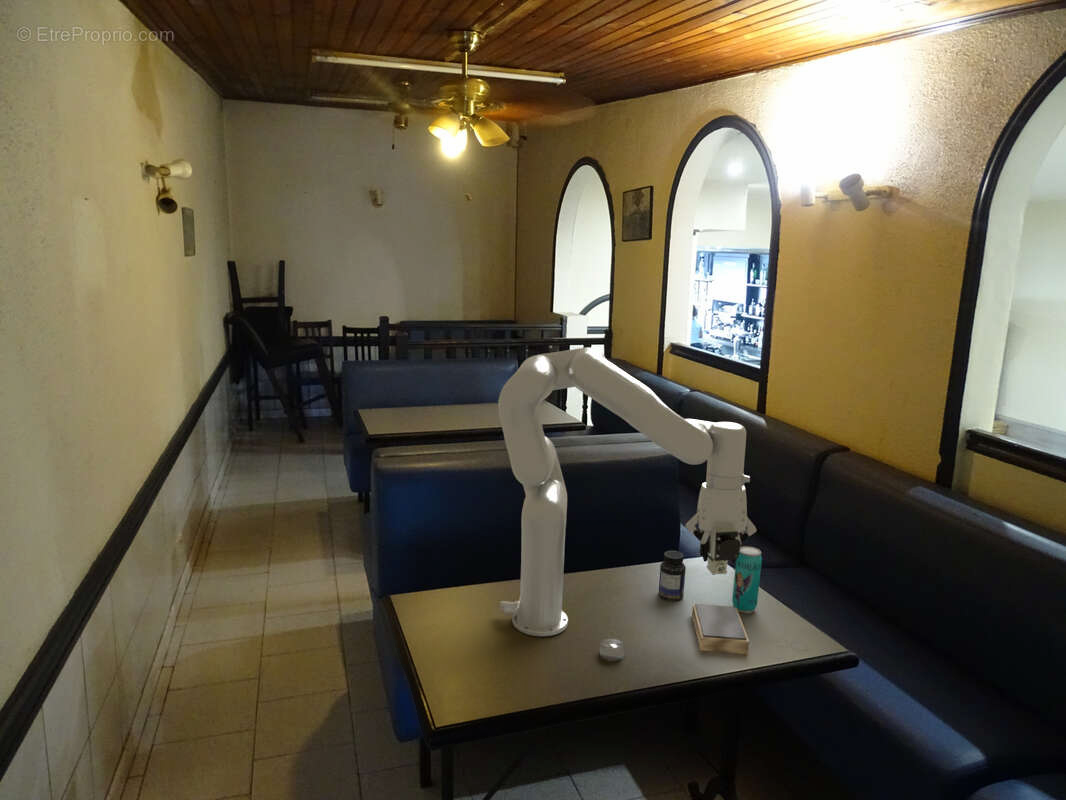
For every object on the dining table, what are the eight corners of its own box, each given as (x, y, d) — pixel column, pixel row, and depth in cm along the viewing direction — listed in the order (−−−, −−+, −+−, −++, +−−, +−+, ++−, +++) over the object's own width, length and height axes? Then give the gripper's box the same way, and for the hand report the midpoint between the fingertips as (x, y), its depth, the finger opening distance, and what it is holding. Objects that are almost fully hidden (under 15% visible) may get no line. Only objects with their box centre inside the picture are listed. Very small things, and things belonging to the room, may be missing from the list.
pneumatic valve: (716, 584, 154) (719, 531, 152) (697, 560, 166) (700, 510, 163) (741, 583, 155) (745, 529, 153) (720, 559, 166) (723, 509, 164)
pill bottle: (668, 587, 186) (671, 547, 183) (688, 596, 181) (691, 555, 179) (653, 595, 181) (656, 553, 179) (673, 604, 177) (676, 561, 175)
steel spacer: (599, 661, 152) (600, 650, 152) (599, 648, 157) (600, 637, 156) (623, 663, 152) (624, 652, 151) (623, 650, 156) (623, 639, 156)
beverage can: (727, 608, 176) (732, 550, 173) (738, 600, 180) (744, 543, 177) (749, 617, 172) (755, 557, 169) (760, 609, 176) (766, 550, 173)
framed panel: (700, 650, 157) (701, 636, 156) (691, 616, 172) (693, 602, 171) (747, 654, 156) (749, 639, 156) (735, 619, 171) (736, 605, 170)
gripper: (761, 476, 159) (755, 554, 163) (681, 473, 161) (677, 550, 164) (769, 487, 152) (762, 569, 156) (685, 484, 153) (680, 564, 157)
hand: (718, 558), depth 160 cm, fingers closed on pneumatic valve, 5 cm apart
